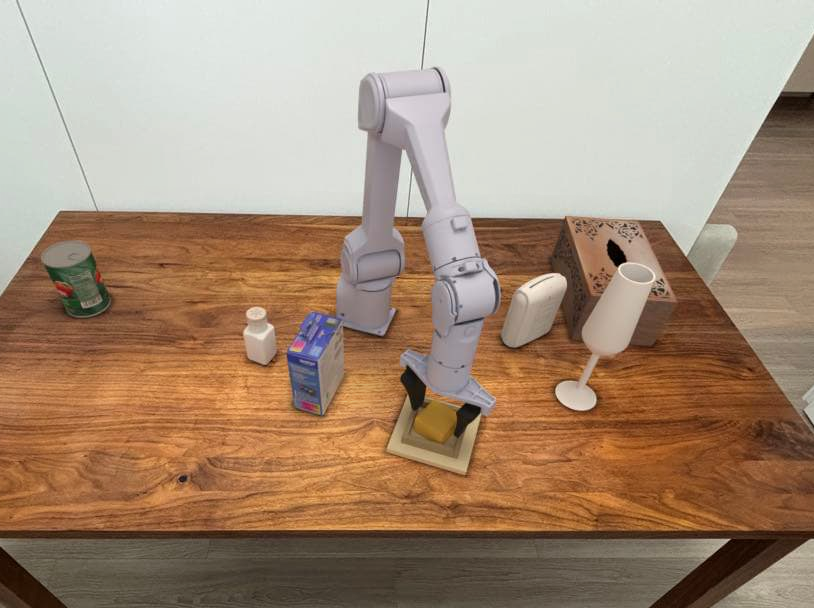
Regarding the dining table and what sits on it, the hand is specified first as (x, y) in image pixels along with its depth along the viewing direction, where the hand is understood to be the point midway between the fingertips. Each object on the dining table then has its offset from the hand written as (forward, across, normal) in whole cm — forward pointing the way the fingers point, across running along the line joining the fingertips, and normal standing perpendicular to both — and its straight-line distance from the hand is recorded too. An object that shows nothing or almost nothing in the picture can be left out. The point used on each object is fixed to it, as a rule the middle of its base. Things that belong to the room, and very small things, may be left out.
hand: (437, 419), depth 80 cm
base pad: (+3, 0, 0) cm, 3 cm away
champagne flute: (+4, -13, -22) cm, 26 cm away
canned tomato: (+4, +66, +18) cm, 68 cm away
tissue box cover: (+4, -5, -49) cm, 49 cm away
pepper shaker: (+4, +32, +6) cm, 33 cm away
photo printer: (+4, 0, -30) cm, 30 cm away
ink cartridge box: (+4, +19, +5) cm, 20 cm away
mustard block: (+2, 0, 0) cm, 2 cm away
